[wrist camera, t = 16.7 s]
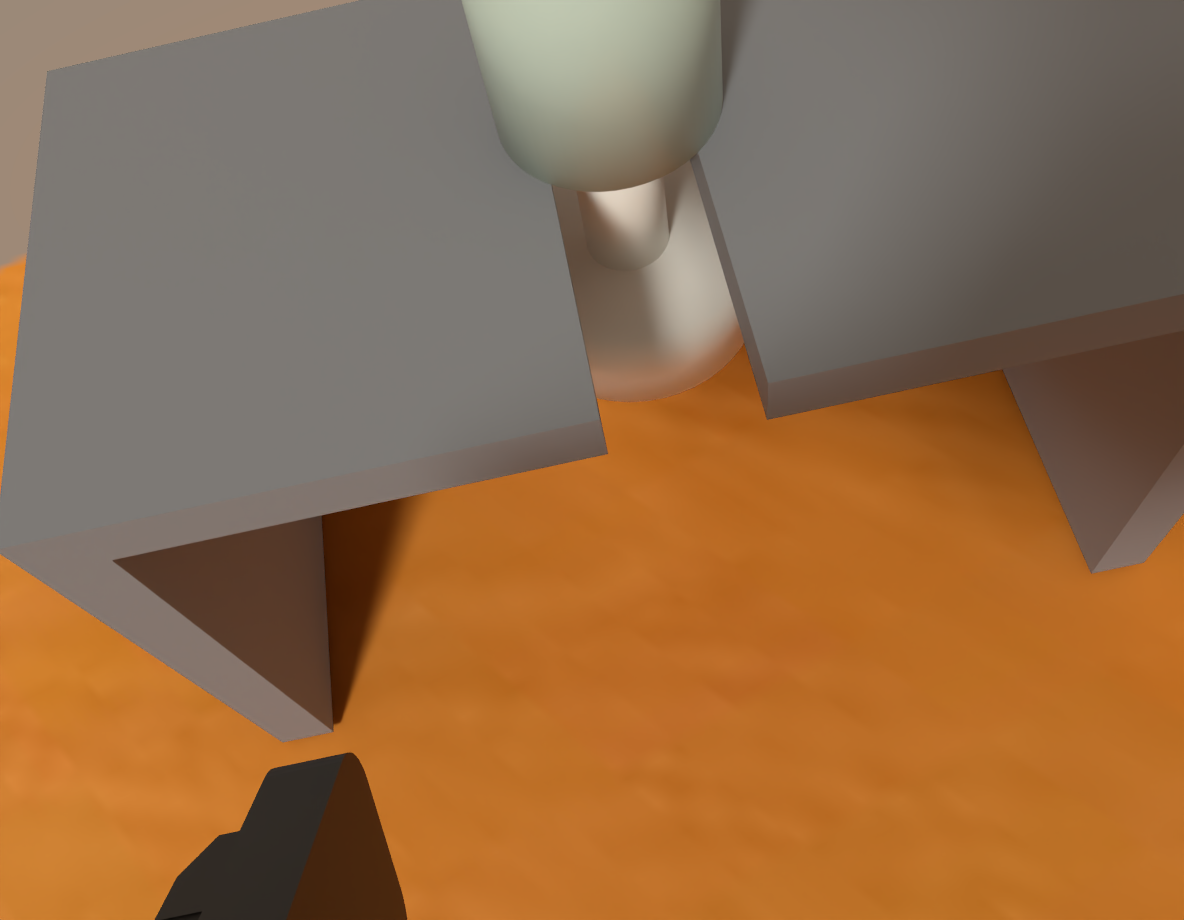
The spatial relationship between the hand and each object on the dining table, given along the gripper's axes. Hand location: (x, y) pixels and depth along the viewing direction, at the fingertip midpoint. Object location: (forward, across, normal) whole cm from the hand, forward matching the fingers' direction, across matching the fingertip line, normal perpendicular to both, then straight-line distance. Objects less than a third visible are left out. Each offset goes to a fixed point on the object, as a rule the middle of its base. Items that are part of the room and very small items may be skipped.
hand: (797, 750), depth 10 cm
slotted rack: (+18, 0, +2) cm, 18 cm away
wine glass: (+14, 0, -2) cm, 14 cm away
